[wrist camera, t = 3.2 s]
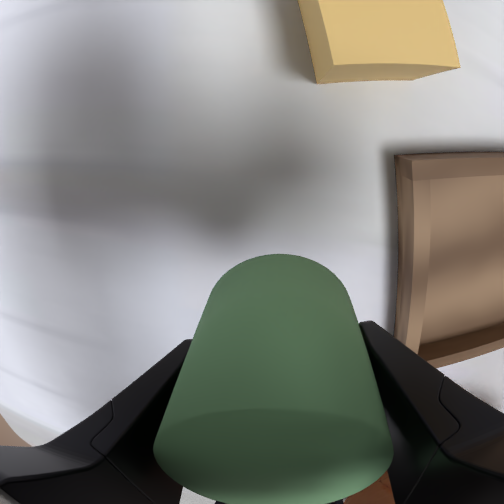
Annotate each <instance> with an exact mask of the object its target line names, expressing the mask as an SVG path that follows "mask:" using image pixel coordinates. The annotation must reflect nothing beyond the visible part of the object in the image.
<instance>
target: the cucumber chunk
mask: <svg viewBox="0 0 504 504" xmlns="http://www.w3.org/2000/svg"><path fill="white" fill-rule="evenodd" d="M153 452H154V457H155V459H156V461H157V463H158V464H159V466H160V467H161V469H162V470H163V471H164V472H165V473H166V474H167V475H168V476H169V477H171V478H172V479H173V480H174V481H176V482H177V483H179V484H180V485H182V486H183V487H185V488H187V489H189V490H191V491H193V492H195V493H197V494H199V495H202V496H204V497H207V498H210V499H212V500H216V501H219V502H222V503H226V504H327V503H331V502H334V501H337V500H340V499H343V498H346V497H348V496H351V495H353V494H355V493H357V492H359V491H361V490H363V489H365V488H366V487H368V486H370V485H371V484H373V483H374V482H375V481H377V480H378V479H379V478H380V477H381V476H382V475H383V474H384V473H385V472H386V470H387V469H388V468H389V466H390V464H391V462H392V460H393V455H394V450H393V444H392V440H391V435H390V431H389V427H388V423H387V419H386V416H385V412H384V408H383V404H382V400H381V397H380V393H379V390H378V386H377V382H376V379H375V376H374V372H373V369H372V365H371V362H370V359H369V355H368V352H367V349H366V346H365V342H364V339H363V336H362V333H361V330H360V327H359V324H358V321H357V318H356V315H355V312H354V309H353V306H352V303H351V300H350V297H349V295H348V293H347V290H346V288H345V287H344V285H343V284H342V282H341V281H340V280H339V279H338V278H337V276H336V275H335V274H333V273H332V272H331V271H330V270H329V269H327V268H326V267H324V266H323V265H321V264H319V263H317V262H315V261H313V260H310V259H307V258H304V257H301V256H295V255H289V254H271V255H264V256H259V257H255V258H252V259H249V260H246V261H244V262H242V263H240V264H238V265H236V266H235V267H233V268H232V269H230V270H229V271H228V272H227V273H225V274H224V275H223V276H222V277H221V278H220V280H219V281H218V282H217V283H216V285H215V286H214V288H213V289H212V292H211V294H210V296H209V299H208V301H207V304H206V306H205V309H204V311H203V314H202V316H201V319H200V322H199V324H198V327H197V329H196V332H195V334H194V337H193V340H192V342H191V345H190V347H189V350H188V353H187V355H186V358H185V360H184V363H183V366H182V368H181V371H180V374H179V376H178V379H177V382H176V384H175V387H174V390H173V392H172V395H171V398H170V400H169V403H168V406H167V408H166V411H165V414H164V417H163V419H162V422H161V425H160V428H159V430H158V433H157V436H156V439H155V441H154V446H153Z"/></svg>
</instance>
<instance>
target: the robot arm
mask: <svg viewBox="0 0 504 504" xmlns="http://www.w3.org/2000/svg"><path fill="white" fill-rule="evenodd" d="M359 327H360V330H361V333H362V336H363V339H364V342H365V346H366V349H367V352H368V355H369V359H370V362H371V365H372V369H373V372H374V376H375V379H376V382H377V386H378V390H379V393H380V397H381V400H382V404H383V408H384V412H385V416H386V419H387V423H388V427H389V431H390V435H391V440H392V444H393V450H394V455H393V460H392V462H391V464H390V466H389V468H388V469H387V472H388V476H389V480H390V484H391V488H392V493H393V497H394V501H395V504H504V413H502V412H500V411H498V410H497V409H495V408H493V407H492V406H490V405H488V404H487V403H485V402H483V401H482V400H480V399H478V398H477V397H475V396H474V395H472V394H470V393H469V392H467V391H466V390H464V389H463V388H462V387H460V386H459V385H457V384H456V383H455V382H453V381H452V380H451V379H449V378H448V377H447V376H445V377H444V374H443V373H441V372H440V371H439V370H437V369H436V368H435V367H433V366H432V365H431V364H429V363H428V362H427V361H426V360H424V359H423V358H422V357H420V356H419V355H418V354H416V353H415V352H414V351H412V350H411V349H410V348H408V347H407V346H406V345H404V344H403V343H402V342H400V341H399V340H398V339H396V338H395V337H394V336H392V335H391V334H390V333H388V332H387V331H386V330H384V329H383V328H382V327H380V326H379V325H377V324H376V323H375V322H373V321H364V322H360V323H359ZM192 340H193V339H187V340H184V341H183V342H182V343H181V344H179V345H178V346H177V347H176V348H174V349H173V350H172V351H171V352H170V353H168V354H167V355H166V356H165V357H164V358H162V359H161V360H160V361H159V362H157V363H156V364H155V365H154V366H153V367H151V368H150V369H149V370H148V371H146V372H145V373H144V374H143V375H141V376H140V377H139V378H138V379H137V380H135V381H134V382H133V383H132V384H130V385H129V386H128V387H127V388H125V389H124V390H123V391H122V392H120V393H119V394H118V395H117V396H115V397H114V398H113V399H112V401H109V402H108V403H106V404H105V405H104V406H103V407H101V408H100V409H99V410H97V411H96V412H95V413H93V414H92V415H91V416H89V417H88V418H86V419H85V420H83V421H82V422H80V423H79V424H77V425H76V426H74V427H73V428H71V429H70V430H68V431H66V432H65V433H63V434H62V435H60V436H58V437H57V438H55V439H54V440H52V441H50V442H49V443H46V444H44V445H41V446H35V447H15V446H0V504H179V502H180V498H181V493H182V489H183V486H182V485H180V484H179V483H177V482H176V481H174V480H173V479H172V478H171V477H169V476H168V475H167V474H166V473H165V472H164V471H163V470H162V469H161V467H160V466H159V464H158V463H157V461H156V459H155V457H154V452H153V446H154V441H155V439H156V436H157V433H158V430H159V428H160V425H161V422H162V419H163V417H164V414H165V411H166V408H167V406H168V403H169V400H170V398H171V395H172V392H173V390H174V387H175V384H176V382H177V379H178V376H179V374H180V371H181V368H182V366H183V363H184V360H185V358H186V355H187V353H188V350H189V347H190V345H191V342H192ZM215 504H226V503H222V502H219V501H216V502H215ZM327 504H343V499H340V500H337V501H334V502H331V503H327Z"/></svg>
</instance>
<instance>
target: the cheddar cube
mask: <svg viewBox="0 0 504 504" xmlns="http://www.w3.org/2000/svg"><path fill="white" fill-rule="evenodd" d="M298 3H299V7H300V11H301V15H302V19H303V23H304V27H305V31H306V36H307V40H308V44H309V49H310V53H311V58H312V63H313V68H314V72H315V77H316V83H317V84H325V83H338V82H353V81H378V80H415V79H418V78H422V77H425V76H429V75H433V74H437V73H440V72H444V71H448V70H452V69H457V68H460V63H459V58H458V54H457V49H456V45H455V41H454V37H453V33H452V30H451V26H450V23H449V19H448V16H447V13H446V9H445V6H444V3H443V0H298Z"/></svg>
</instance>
